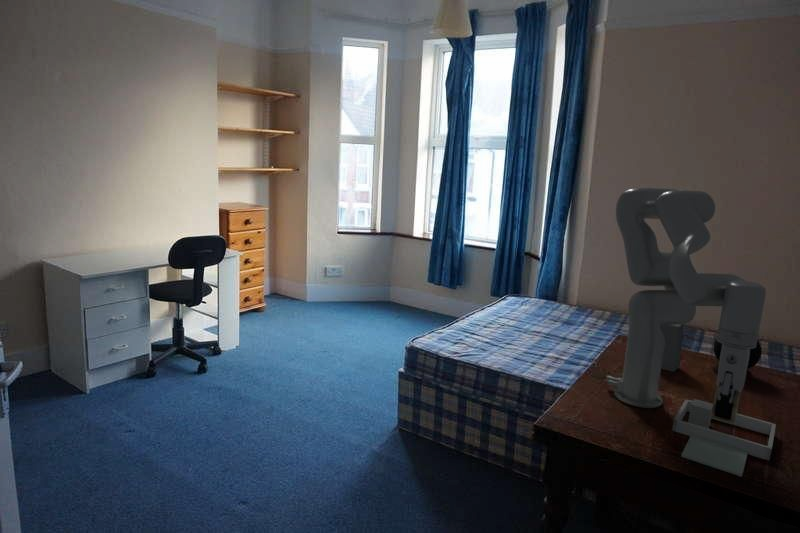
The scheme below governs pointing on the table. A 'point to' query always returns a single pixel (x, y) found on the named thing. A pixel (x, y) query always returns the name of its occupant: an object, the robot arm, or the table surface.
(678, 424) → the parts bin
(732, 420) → the labelled block
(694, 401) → the plain block
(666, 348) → the skincare box
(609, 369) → the table surface
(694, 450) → the mat
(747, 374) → the dark rounded object
